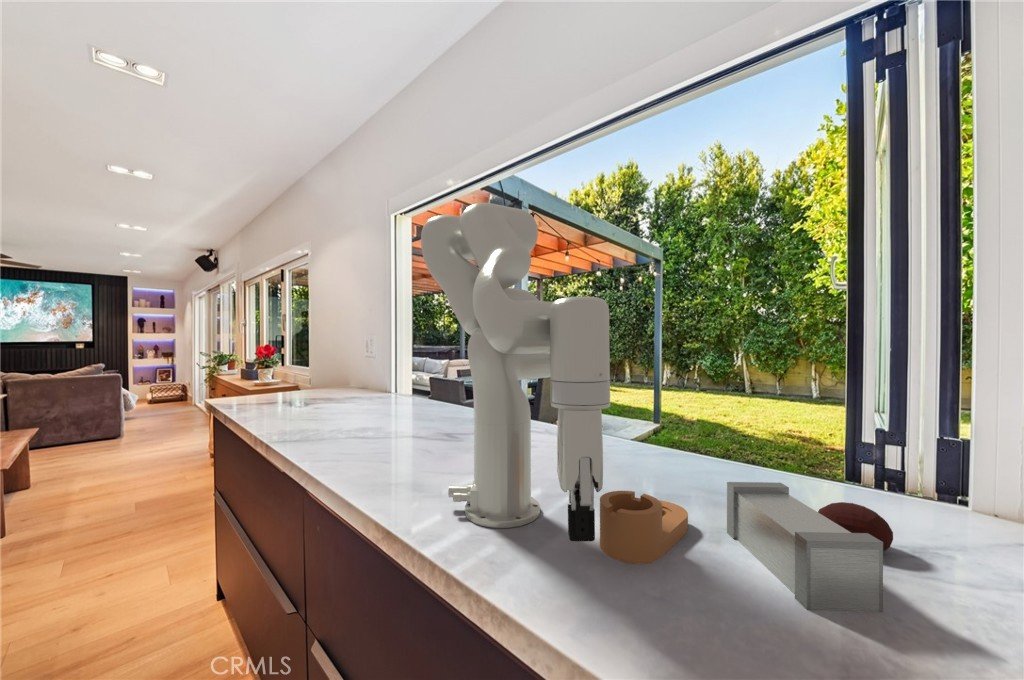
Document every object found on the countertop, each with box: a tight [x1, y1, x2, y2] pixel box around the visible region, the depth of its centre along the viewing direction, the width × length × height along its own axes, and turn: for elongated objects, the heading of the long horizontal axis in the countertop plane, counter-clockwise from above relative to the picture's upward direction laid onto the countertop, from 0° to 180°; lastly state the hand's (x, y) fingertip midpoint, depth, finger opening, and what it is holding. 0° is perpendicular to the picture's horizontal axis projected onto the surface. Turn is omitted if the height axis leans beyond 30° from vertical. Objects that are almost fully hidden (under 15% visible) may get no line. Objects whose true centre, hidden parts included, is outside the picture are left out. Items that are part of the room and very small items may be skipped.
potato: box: [817, 502, 894, 552], centre depth 58 cm, size 7×8×6 cm
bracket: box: [599, 490, 689, 565], centre depth 61 cm, size 18×8×7 cm, turn 138°
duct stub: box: [726, 481, 884, 613], centre depth 53 cm, size 8×18×8 cm, turn 177°
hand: (581, 537), depth 53 cm, fingers closed
